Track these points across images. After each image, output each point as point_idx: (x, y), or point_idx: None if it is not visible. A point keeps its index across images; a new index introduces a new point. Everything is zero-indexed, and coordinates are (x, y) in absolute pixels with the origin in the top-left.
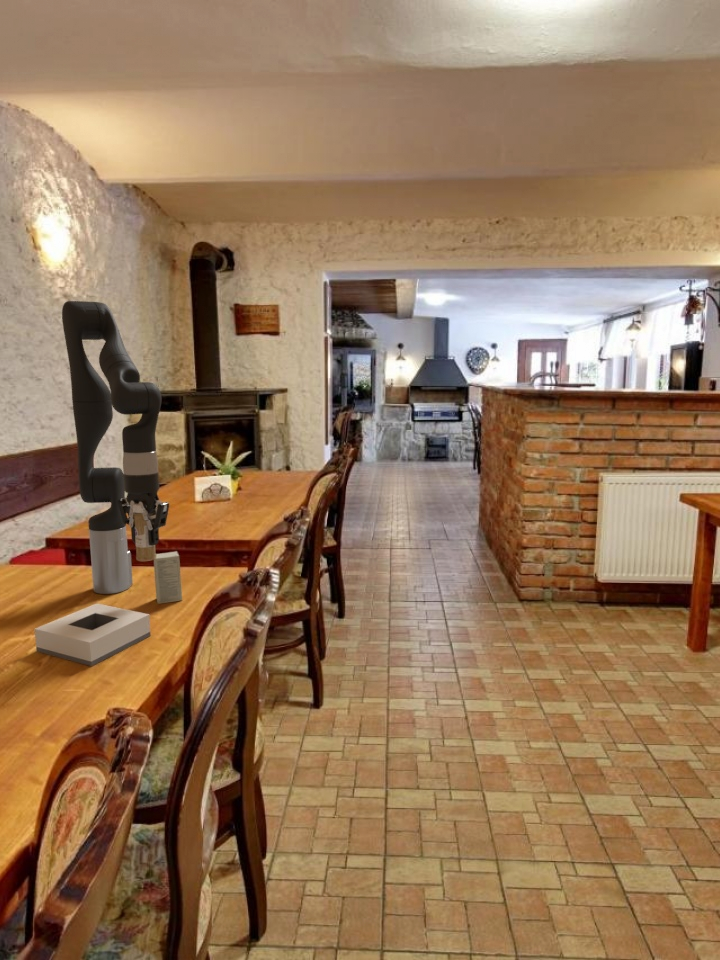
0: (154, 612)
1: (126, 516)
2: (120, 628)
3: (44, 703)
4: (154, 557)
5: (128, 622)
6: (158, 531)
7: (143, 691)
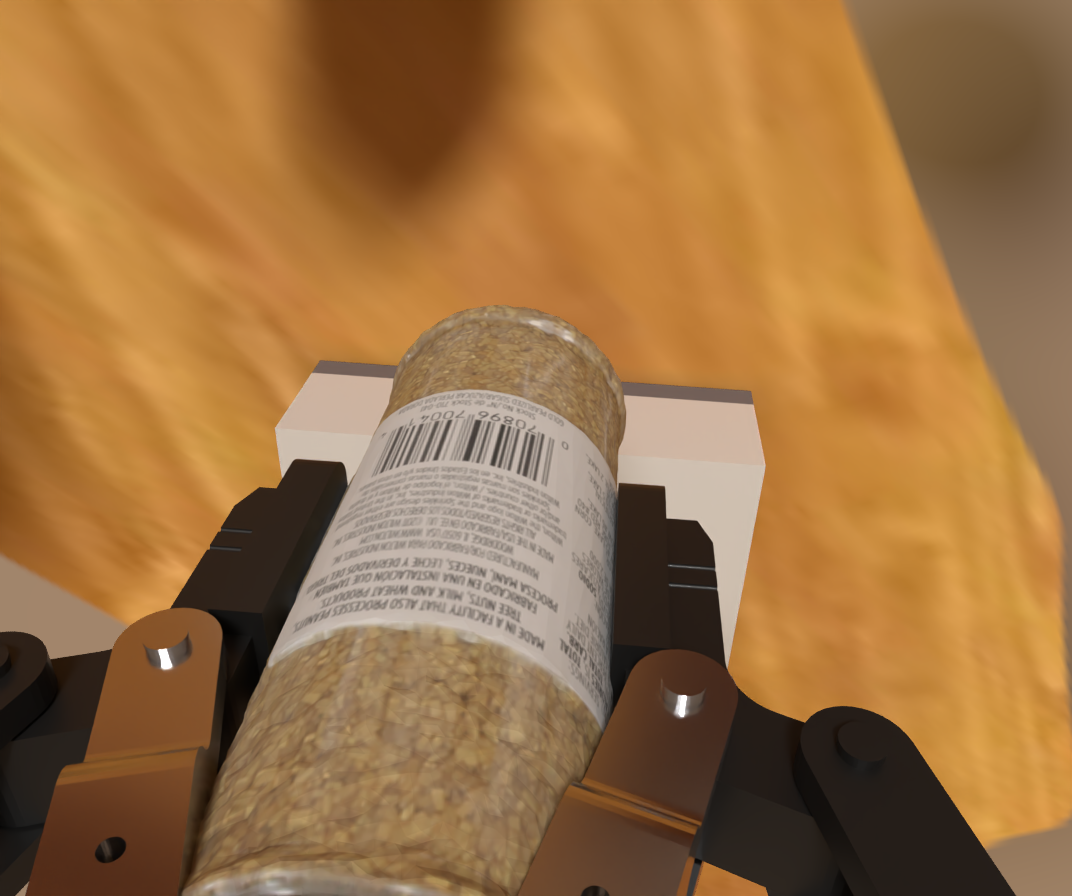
0: (502, 58)
1: (1, 884)
2: (729, 652)
3: (740, 886)
4: (625, 413)
5: (720, 591)
6: (721, 643)
7: (1052, 780)
